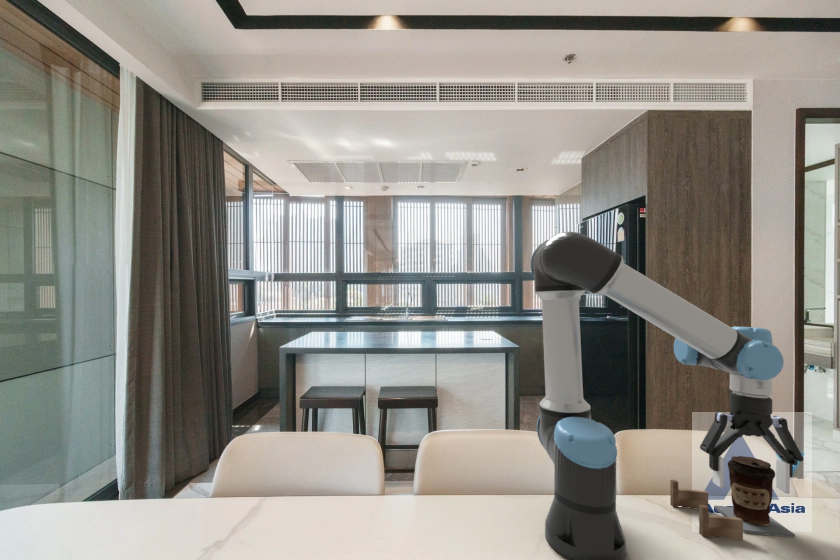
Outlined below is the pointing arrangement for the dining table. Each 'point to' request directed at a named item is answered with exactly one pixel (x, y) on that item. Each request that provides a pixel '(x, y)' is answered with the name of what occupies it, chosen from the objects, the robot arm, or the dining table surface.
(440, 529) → the dining table surface
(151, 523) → the dining table surface
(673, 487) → the cup holder rails
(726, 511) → the coaster
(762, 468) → the coffee cup
